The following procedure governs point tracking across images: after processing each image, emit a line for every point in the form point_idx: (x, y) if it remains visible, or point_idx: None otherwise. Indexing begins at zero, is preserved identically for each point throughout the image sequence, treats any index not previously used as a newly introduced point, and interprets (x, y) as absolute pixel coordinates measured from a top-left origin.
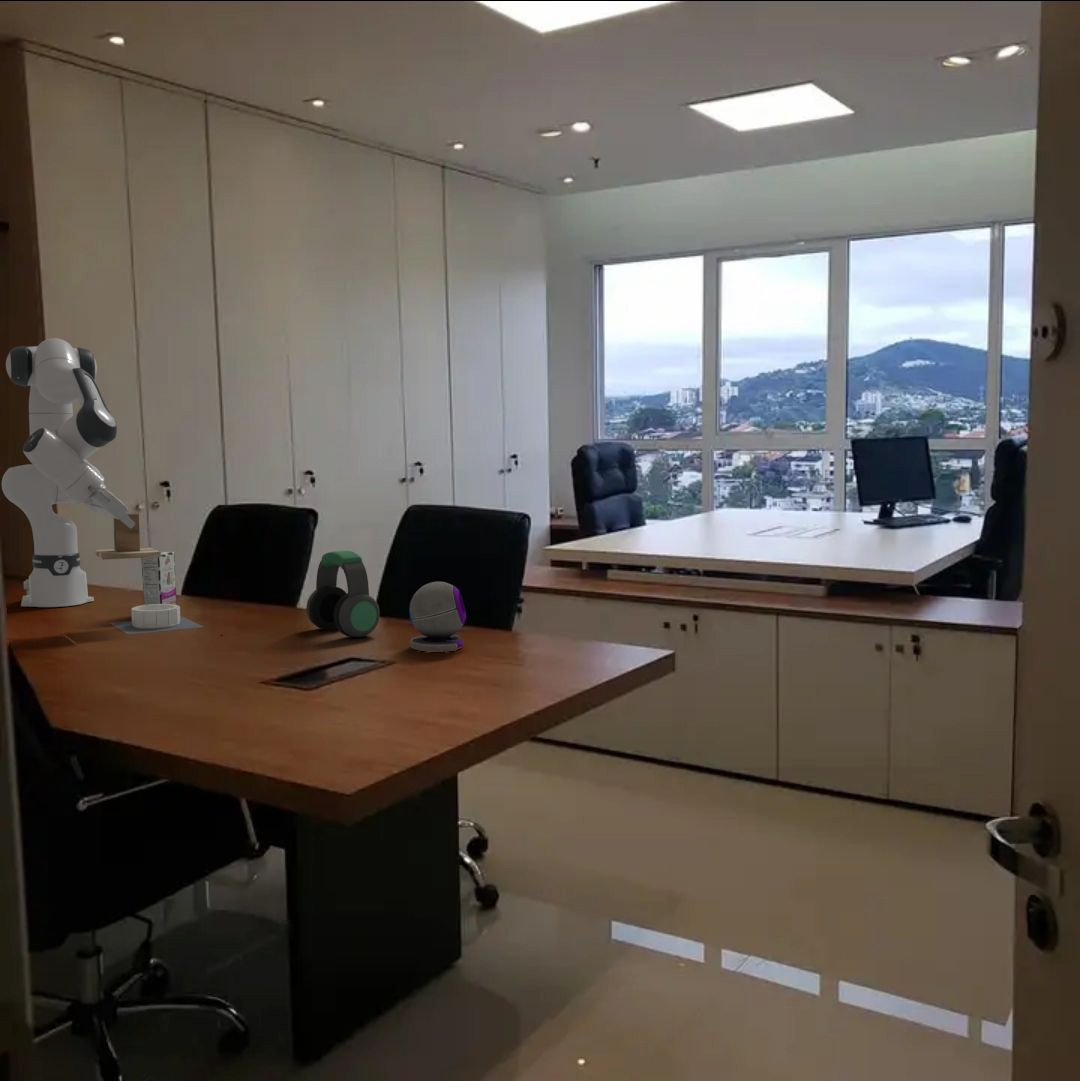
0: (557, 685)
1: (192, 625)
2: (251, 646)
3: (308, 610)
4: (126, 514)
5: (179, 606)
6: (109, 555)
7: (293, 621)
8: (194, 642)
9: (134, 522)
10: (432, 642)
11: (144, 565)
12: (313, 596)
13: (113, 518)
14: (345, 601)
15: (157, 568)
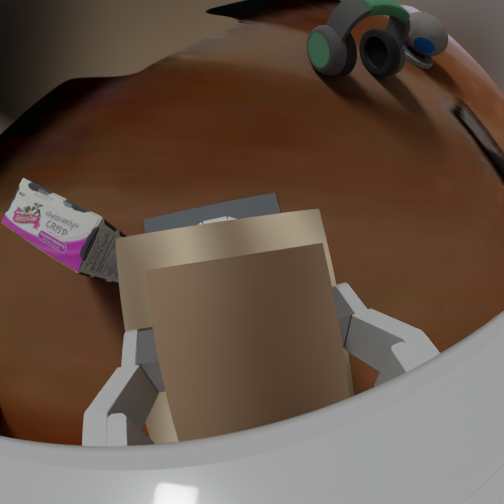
0: (486, 77)
1: (252, 209)
2: (414, 164)
3: (342, 68)
4: (417, 332)
5: (228, 217)
6: (351, 385)
7: (250, 80)
8: (385, 223)
9: (349, 286)
10: (426, 58)
11: (95, 269)
12: (351, 52)
13: (142, 425)
14: (402, 53)
15: (115, 234)
